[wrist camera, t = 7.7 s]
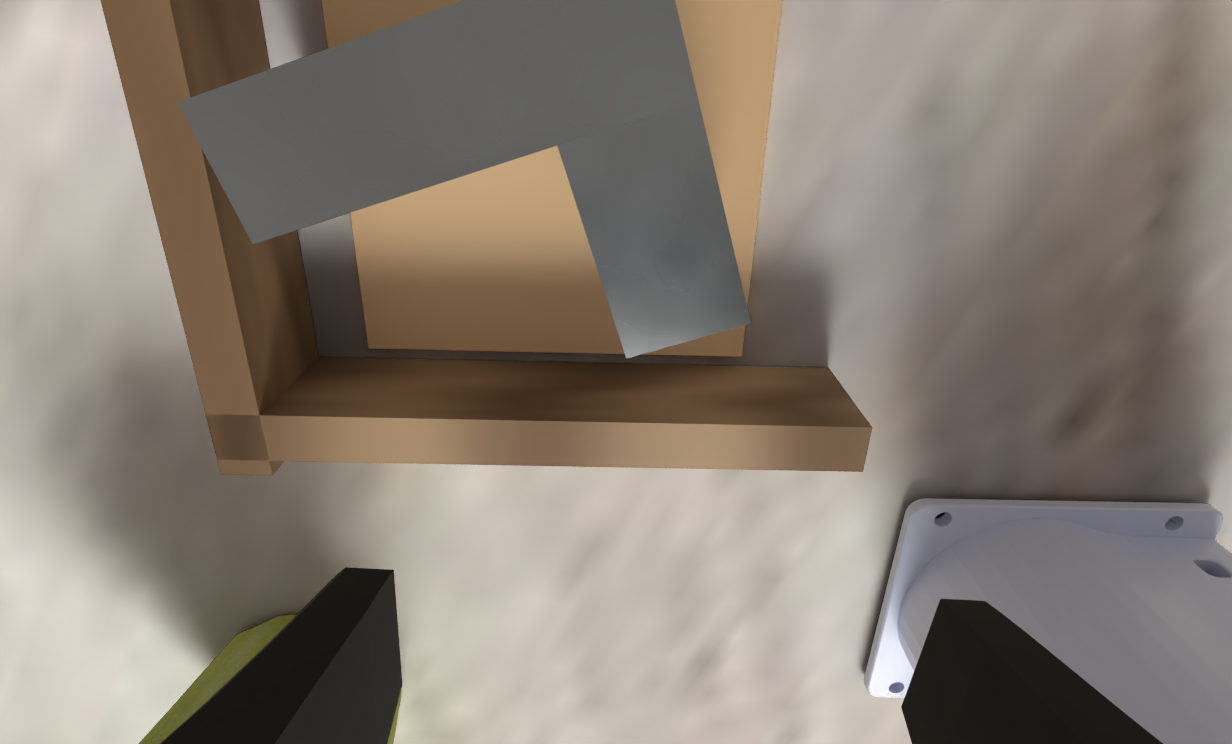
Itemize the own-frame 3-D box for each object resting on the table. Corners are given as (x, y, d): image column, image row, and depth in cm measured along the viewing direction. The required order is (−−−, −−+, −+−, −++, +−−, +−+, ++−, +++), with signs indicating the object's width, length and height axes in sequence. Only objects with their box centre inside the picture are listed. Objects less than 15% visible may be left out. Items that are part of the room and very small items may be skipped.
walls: (925, -198, 13) (1020, -277, 10) (819, 418, 19) (859, 485, 16) (158, -227, 13) (20, -316, 10) (284, 408, 19) (220, 474, 16)
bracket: (643, -26, 14) (658, -70, 10) (713, 254, 17) (750, 323, 12) (305, 91, 15) (176, 102, 11) (420, 341, 18) (355, 435, 13)
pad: (779, -2, 15) (782, -4, 15) (740, 352, 18) (741, 356, 18) (324, -17, 15) (319, -19, 14) (371, 344, 18) (368, 348, 18)
